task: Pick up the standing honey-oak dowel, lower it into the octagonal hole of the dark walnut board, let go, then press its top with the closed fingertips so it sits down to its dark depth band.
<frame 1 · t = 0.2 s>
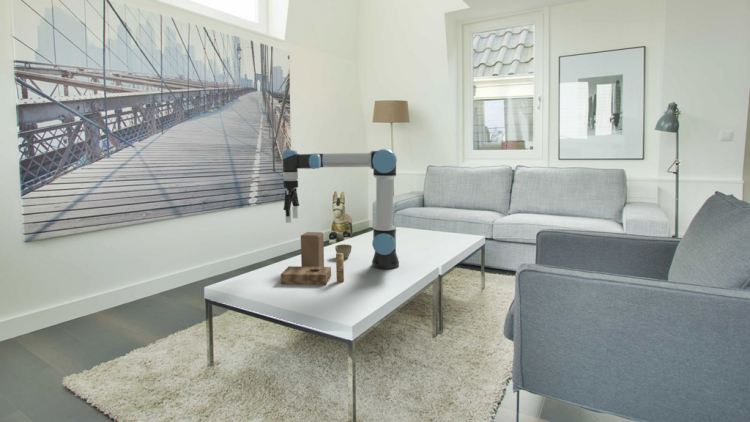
hand: (292, 220, 228), 28 cm above the table, fingers open, 13 cm apart
flower pot: (343, 258, 260), on the table
peg: (340, 281, 214), on the table
block: (313, 269, 235), on the table
board: (306, 280, 216), on the table
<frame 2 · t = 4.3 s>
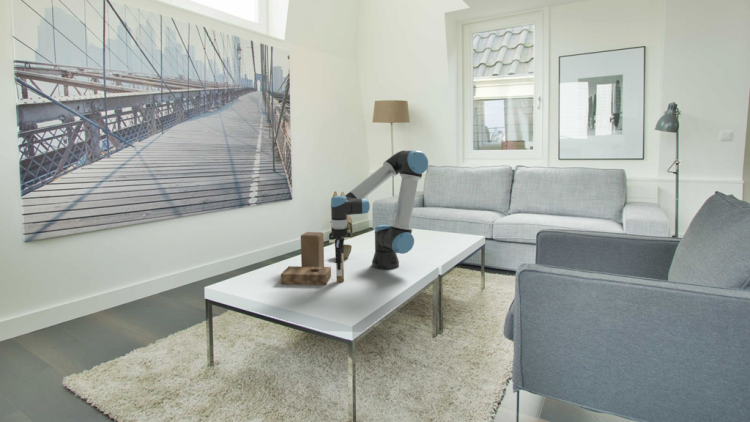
hand: (340, 274, 213), 4 cm above the table, fingers closed on peg, 4 cm apart
peg: (340, 281, 214), on the table, touching gripper
everything else where it was.
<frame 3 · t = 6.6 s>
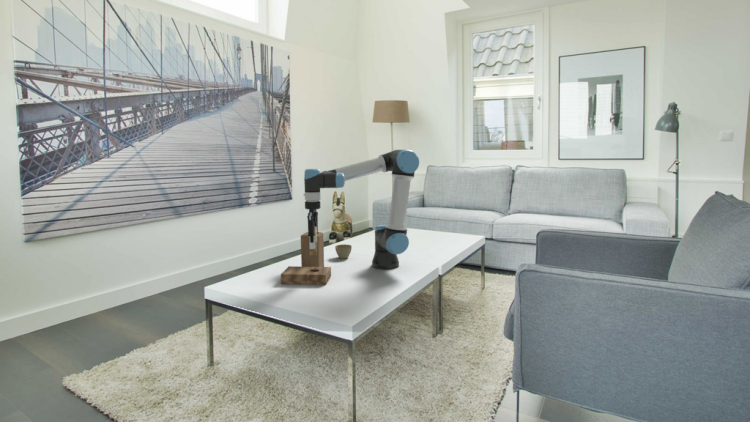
hand: (313, 247, 213), 17 cm above the table, fingers closed on peg, 4 cm apart
peg: (313, 254, 214), point 13 cm above the table, touching gripper
everything else where it was.
when the fingers open (6 cm above the table, at t = 8.8 s): peg drops 3 cm, resting in board.
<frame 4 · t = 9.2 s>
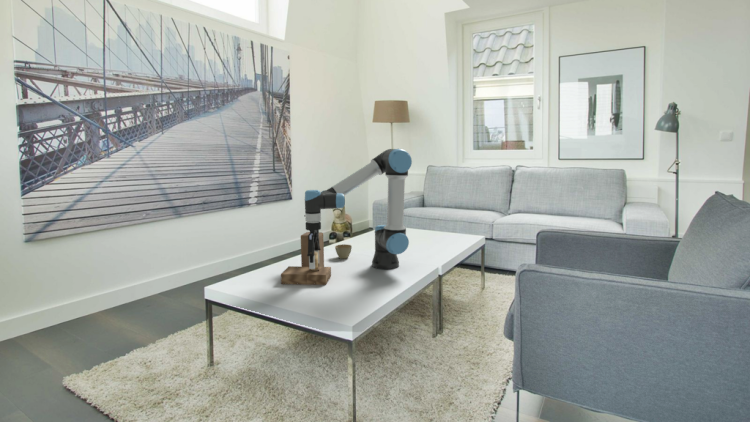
hand: (314, 265, 215), 7 cm above the table, fingers open, 9 cm apart
peg: (314, 280, 216), resting in board
everything else where it was.
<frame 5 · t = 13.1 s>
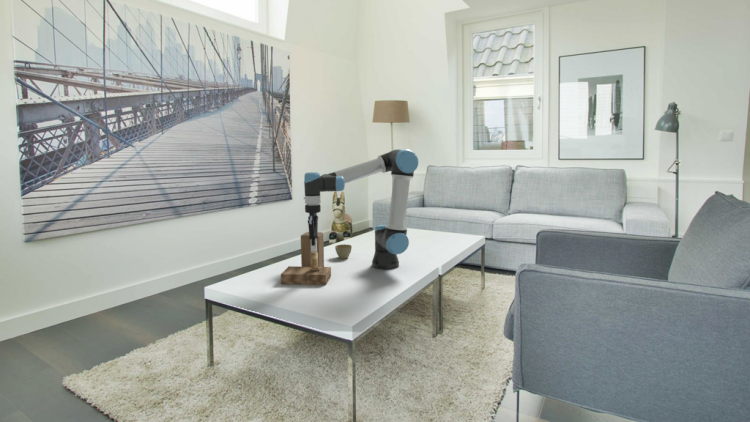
hand: (313, 251, 214), 15 cm above the table, fingers closed
nothing on the table moved.
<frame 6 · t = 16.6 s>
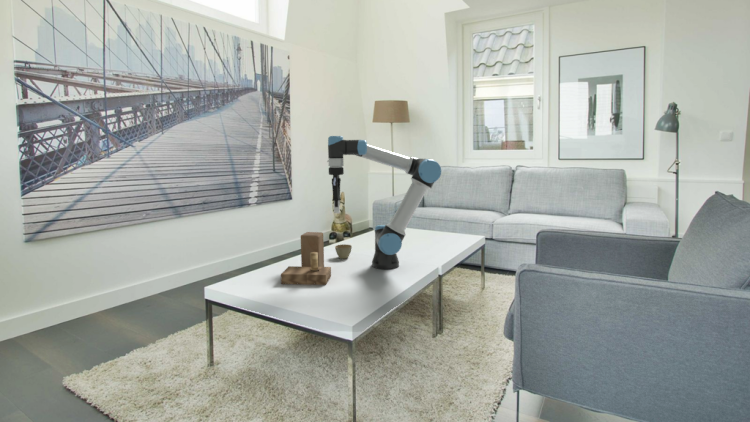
hand: (336, 213, 221), 32 cm above the table, fingers closed
nothing on the table moved.
at the end: peg 0.1 cm from the target spot on the board, point 0.0 cm above the board's base; peg tilted 0°; the gripper is holding nothing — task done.
